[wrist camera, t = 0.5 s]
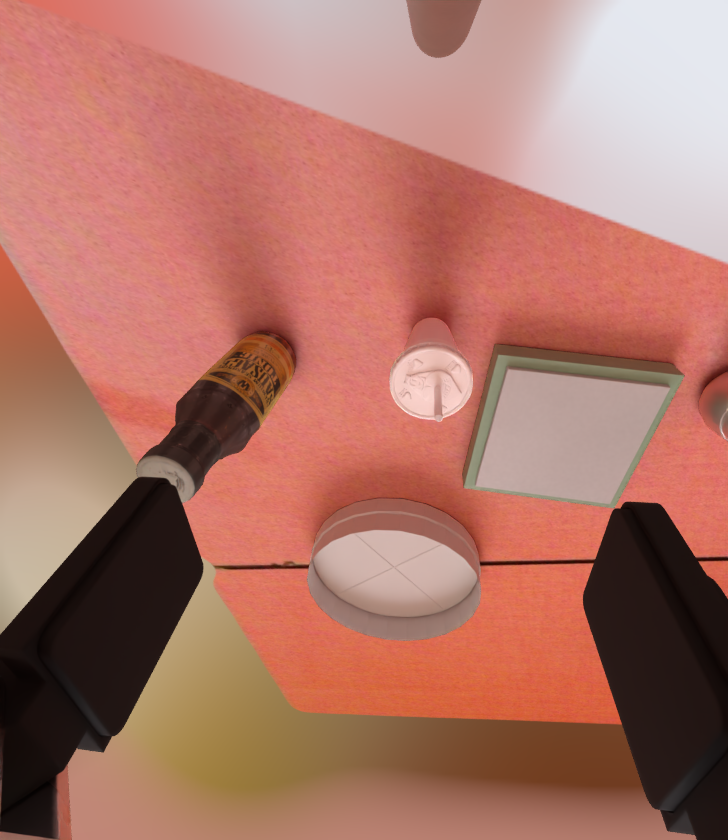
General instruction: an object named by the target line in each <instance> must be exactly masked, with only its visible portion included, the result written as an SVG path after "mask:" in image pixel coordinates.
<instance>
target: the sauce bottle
mask: <svg viewBox="0 0 728 840" xmlns="http://www.w3.org/2000/svg"><path fill="white" fill-rule="evenodd" d="M295 368H296V357H295V355H294V352H293V350H292V348H291V347H290V345H289V344H288V342H286V341H285V340H284V339H283V338H281V337H280V336H278V335H275V334H273V333H270V332H269V333H268V332H263V331H260V332H257V333H254V334H251V335H249V336H246V337H244V338H243V339H242V340H240V341H239V342H238V343H237V344H236V345H235V346H234V347H233V348H232V349H231V350H230V351H229V352H227V353H226V354H225V355H224V356H223V357H222V358H221V359H220V360H219V361H218V362H217V363H215V364H214V365H213V366H212V367H211V368H210V369H209V370H208V371H207V372H206V373H205V374H204V375H203V376H202V377H201V378H200V379H199V380H198V381H197V382H196V383H195V385H194V386H193V387H192V388H191V389H190V390H189V391H188V392H187V393H186V394H185V395H184V396H183V397H182V398H181V399H180V400H179V401H178V402H177V404H176V415H175V422H176V425H175V426H174V427H173V428H172V429H171V431H170V432H169V434H168V435H167V436H166V437H165V438H164V439H163V440H162V442H161V443H160V444H159V445H156V446H154V447H153V448H151V449H150V450H149V451H148V452H147V453H146V454H145V455H144V456H143V457H142V459H141V460H140V461H139V463H138V464H137V469H136V470H137V471H136V472H137V477H141V476H142V477H161V478H167V479H168V480H169V481H170V483H171V484H172V485H174V486H176V488H177V490H178V493H179V496H180V499H181V502H182V503H183V502H186V501H188V500H190V499H191V498H192V497H193V496H194V495H195V493H196V492H197V491H198V490H199V489H200V487H201V486H202V485H203V482H204V477H205V475H206V474H207V472H208V471H209V469H210V468H211V467H212V466H213V465H214V464H215V463H216V462H217V461H218V459H223V458H224V457H226V456H228V455H231V454H235V453H239V452H240V451H242V450H243V449H244V447H245V446H246V444H247V443H248V441H249V440H250V438H251V437H252V435H253V434H254V433H255V432H256V431H257V430H258V429H259V428H260V426H261V425H262V423H263V422H264V420H265V419H266V417H267V416H268V414H269V413H270V411H271V410H272V408H273V407H274V405H275V404H276V402H277V401H278V399H279V398H280V396H281V395H282V393H283V392H284V390H285V389H286V387H287V386H288V384H289V383H290V381H291V379H292V377H293V374H294V372H295Z"/></svg>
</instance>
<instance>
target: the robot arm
mask: <svg viewBox="0 0 728 840" xmlns="http://www.w3.org/2000/svg"><path fill="white" fill-rule="evenodd" d="M202 574H203V562H202V559H201V556H200V553H199V550H198V548H197V545H196V542H195V539H194V536H193V533H192V530H191V528H190V525H189V522H188V519H187V516H186V513H185V510H184V508H183V505H182V502H181V499H180V496H179V493H178V490H177V488H176V486H174V485H172V484H171V483H170V481H169V480H168V479H167V478H161V477H142V476H141V477H138V478H137V479H136V480H135V481H133V483H132V484H131V485H130V486H129V487H128V488H127V490H126V491H125V492H124V493H123V494H122V495H121V497H120V498H119V499H118V500H117V501H116V502H115V503H114V505H113V506H112V507H111V508H110V509H109V510H108V511H107V513H106V514H105V515H104V516H103V517H102V518H101V519H100V521H99V522H98V523H97V524H96V525H95V526H94V527H93V529H92V530H91V531H90V532H89V533H88V534H87V535H86V537H85V538H84V539H83V540H82V541H81V542H80V544H79V545H78V546H77V547H76V548H75V549H74V551H73V552H72V553H71V554H70V555H69V556H68V558H67V559H66V560H65V561H64V562H63V563H62V565H60V567H59V568H58V569H57V570H56V571H55V572H54V574H53V575H52V576H51V577H50V578H49V579H48V580H47V582H46V583H45V584H44V585H43V586H42V587H41V589H40V590H39V591H38V592H37V593H36V594H35V595H34V597H33V598H32V599H31V600H30V601H29V602H28V604H27V605H26V606H25V607H24V608H23V609H22V610H21V611H20V613H19V614H18V615H17V616H16V617H15V619H13V621H12V622H11V623H10V624H9V625H8V626H7V628H6V629H5V630H4V631H3V632H2V633H1V634H0V840H72V837H71V836H72V835H71V819H70V800H69V783H68V766H67V764H68V762H69V761H70V759H71V757H72V755H73V754H74V752H75V750H76V748H78V749H82V750H90V751H97V752H104V751H105V748H106V746H107V745H108V743H109V741H110V739H111V737H112V736H115V735H117V734H118V733H119V732H120V731H121V730H122V728H123V727H124V725H125V724H126V722H127V720H128V718H129V716H130V714H131V712H132V710H133V708H134V706H135V704H136V703H137V701H138V699H139V697H140V695H141V693H142V691H143V689H144V687H145V685H146V683H147V681H148V679H149V678H150V676H151V674H152V672H153V670H154V668H155V666H156V664H157V662H158V660H159V658H160V656H161V655H162V653H163V650H164V649H165V647H166V645H167V643H168V641H169V639H170V637H171V635H172V633H173V631H174V630H175V628H176V626H177V624H178V622H179V620H180V618H181V616H182V614H183V612H184V610H185V608H186V607H187V605H188V603H189V601H190V599H191V597H192V595H193V593H194V591H195V589H196V587H197V586H198V584H199V582H200V580H201V577H202ZM583 605H584V610H585V614H586V617H587V620H588V623H589V626H590V629H591V632H592V635H593V638H594V641H595V644H596V647H597V650H598V653H599V656H600V659H601V662H602V665H603V668H604V671H605V674H606V677H607V680H608V683H609V686H610V689H611V692H612V695H613V698H614V701H615V704H616V707H617V710H618V713H619V716H620V719H621V722H622V725H623V728H624V731H625V734H626V738H627V741H628V744H629V746H630V749H631V753H632V756H633V759H634V762H635V765H636V768H637V771H638V774H639V777H640V780H641V783H642V786H643V789H644V792H645V794H646V797H647V799H648V801H649V803H650V804H651V806H652V807H653V808H655V809H658V810H660V811H661V814H662V817H663V820H664V822H665V825H666V828H667V831H670V832H677V833H685V834H691V835H695V836H696V839H697V840H728V599H727V597H726V596H725V594H724V593H723V591H722V589H721V588H720V587H719V586H718V584H717V583H716V582H715V581H714V580H713V579H712V578H710V577H709V576H707V575H706V573H705V572H704V570H703V568H702V567H701V565H700V564H699V562H698V561H697V559H696V557H695V556H694V554H693V553H692V551H691V550H690V548H689V547H688V545H687V543H686V542H685V540H684V539H683V537H682V536H681V534H680V532H679V531H678V529H677V528H676V526H675V525H674V523H673V522H672V520H671V518H670V517H669V515H668V514H667V512H666V511H665V509H664V508H663V507H662V506H661V505H660V504H658V503H644V502H625V503H624V504H623V505H622V507H621V509H618V508H617V509H614V510H613V512H612V514H611V516H610V519H609V522H608V525H607V528H606V531H605V534H604V536H603V539H602V542H601V545H600V548H599V551H598V553H597V556H596V559H595V562H594V565H593V568H592V570H591V573H590V576H589V579H588V582H587V585H586V587H585V590H584V594H583Z"/></svg>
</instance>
